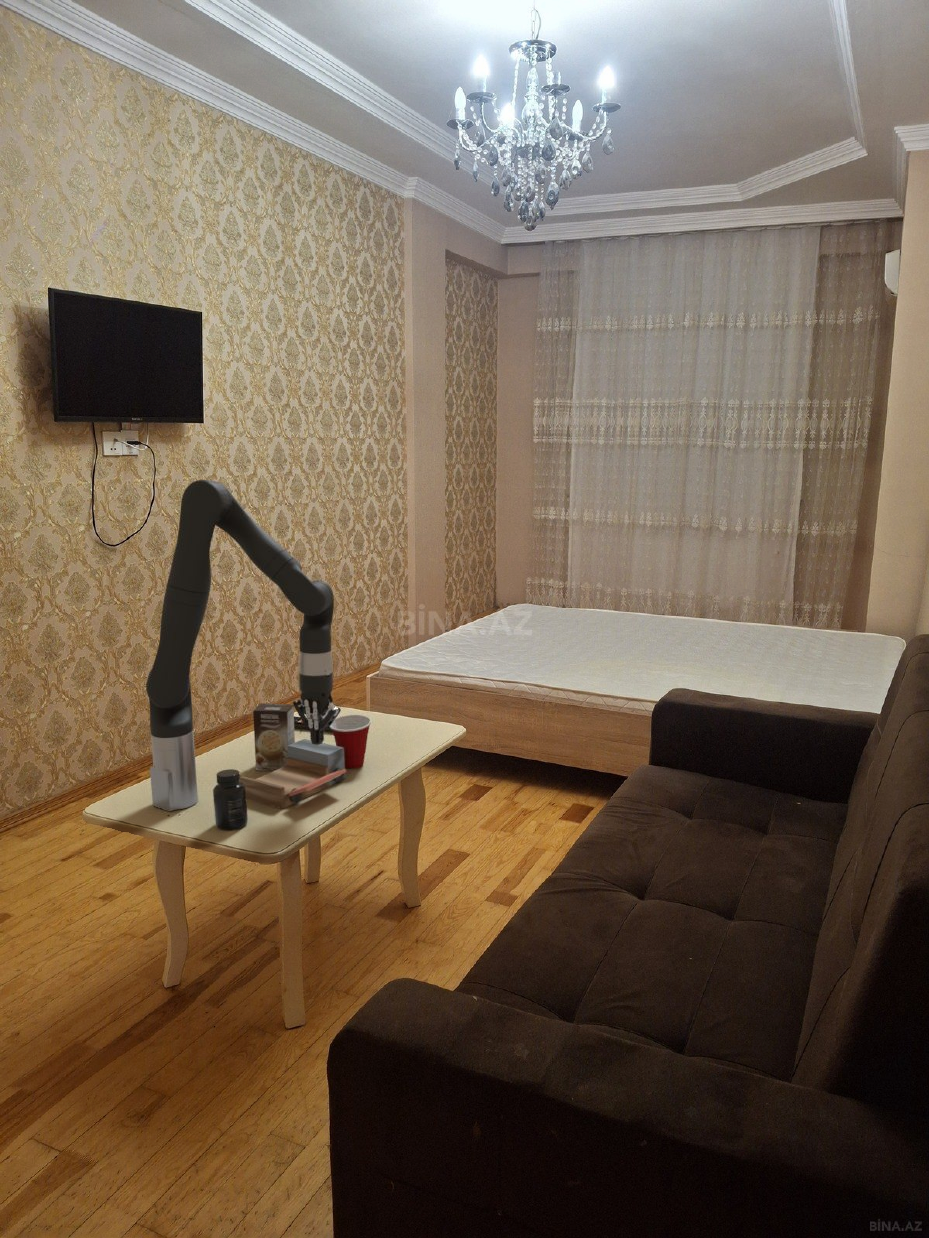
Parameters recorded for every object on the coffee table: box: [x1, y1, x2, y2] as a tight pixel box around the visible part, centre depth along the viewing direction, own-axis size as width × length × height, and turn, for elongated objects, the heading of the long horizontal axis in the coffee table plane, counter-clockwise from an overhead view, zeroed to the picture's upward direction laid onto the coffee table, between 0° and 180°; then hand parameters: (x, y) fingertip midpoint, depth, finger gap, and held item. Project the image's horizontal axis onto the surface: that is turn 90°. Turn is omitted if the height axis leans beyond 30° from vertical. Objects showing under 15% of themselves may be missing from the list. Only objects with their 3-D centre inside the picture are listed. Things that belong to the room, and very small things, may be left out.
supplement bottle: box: [212, 768, 248, 832], centre depth 195 cm, size 7×7×12 cm
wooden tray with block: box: [240, 738, 346, 810], centre depth 215 cm, size 22×14×8 cm, turn 147°
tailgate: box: [289, 768, 347, 796], centre depth 207 cm, size 14×1×6 cm
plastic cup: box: [328, 714, 372, 770], centre depth 230 cm, size 11×11×12 cm
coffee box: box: [252, 702, 296, 772], centre depth 229 cm, size 9×6×16 cm
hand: (317, 743), depth 205 cm, fingers closed
